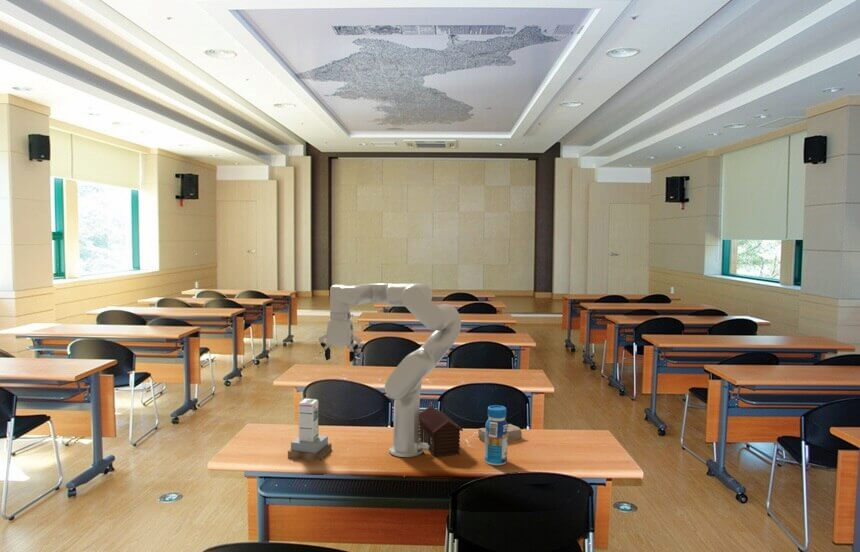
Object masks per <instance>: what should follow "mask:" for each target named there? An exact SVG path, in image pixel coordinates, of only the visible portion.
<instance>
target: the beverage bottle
mask: <svg viewBox="0 0 860 552" xmlns="http://www.w3.org/2000/svg"><path fill="white" fill-rule="evenodd" d="M487 417H488V419H487V420H486V422H485V425H484V426H485V427H484V428H486V430H485V442H484V461H485V462H486V464H488V465H491V466H503V465H505V464H506V463H507V462H508V442H509V441H508V431H507V429H508V424H509V423H508V422H507V418H506V417H507V407H505V406H504V405H499V404H498V405H497V404H494V405H489V406H488V407H487Z"/></svg>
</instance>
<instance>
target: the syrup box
mask: <svg viewBox="0 0 860 552" xmlns="http://www.w3.org/2000/svg"><path fill="white" fill-rule="evenodd" d="M319 435H320V434H319V400H318V399H317V398H303V399H302V400H301V401H299V403H298V437H299V441H306V442H314V440H315V439H316V438H317V437H318V436H319Z"/></svg>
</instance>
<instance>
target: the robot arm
mask: <svg viewBox="0 0 860 552" xmlns="http://www.w3.org/2000/svg"><path fill="white" fill-rule="evenodd" d="M329 292H330V293H329V297H330V299H329V311H330V313H329V319H328V322H327V327H326V334H324V335H322V336H320V337H318V341H319V343H320V346H321V347H322V349H323V350H324V358H325V361H329V360H331V346H332V347H334V346H335V347H348V349H349V350H350V351H349V353H348V355H349V357H348V358H349V359H348V361H349V363H352V362H353V361H355V358H356V350H357V349H358V348H359V347H360V346H361V344H362V339H361V338H359V337H358V336H355V333H354V332H355V331H354V324H353V320H352V319H353V318H354V314H353V313H351V306H360V305H364V304H371V303H372V304H375V303H376V304H379V303H380V304H387V305H388V306H390V307H405V308H406V309H407V310H408V311H409V312H410V313H411V314H412V315H413V316H414V317H415V318H416V319H417V320H418V321H420V322H421V324H422V325H423V326H424V327H426V328H427V329H428V330H430V331H434V332H432V333H431V335H430V336H428V338H427V339H426V341H425V342H424V343H423V344H422V345H421V346H420V347H419V348H417V349H416V350H414V351H412V352H410V353H409V354H407V355H406V356H405V357H404V358H403V359H402V360H401V362H399V364H397V366H396V367H395V368H394V370H393V371H392V372H391V373H390V375H389V376H388V377H387V378H386V380H385V383H384V391H385V394H386V395H387V397H388V398H390V399H392V400H394V402H393V438H392V439H393V442H392V443H393V444H392V445H391V446H390V447H389V449H388V451H389V454H391V455H393V456H395V457H399V458H413V457H417V456H420V455H422V454H423V451H429V449H430V445H428V443H422V442H421V439H420V438H419V414H420V399H421V390H422V385H423V383H422V379H423V378H424V377H425V376H427V375H428V374H430V373H432V371H433V370H434V369H436V366H437V365H438V364H439V363H440V362H441V360H442V359H443V358H444V356H445V355H446V354H447V353H448V352H449V350H450V349H451V348H452V346H453V345H454V344H455V342H457V339H458V338H459V335H460V332H461V329H462V319H461V315H460V313H459V311H458V310H457V308H455V306H454V305H452V304H446V303H442V304H439V305H437V304H436V303H434V301H433V300H432V298H433V290H432V288H431V287H430V286H429V285H428V284H425V283H415V282H414V283H411V282H410V283H363V284H356V285H347V284H333V285H331V286H330V291H329ZM324 340H325V341H326V342H325V341H324ZM355 342H356V343H355ZM354 344H355V345H354Z"/></svg>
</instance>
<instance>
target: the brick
mask: <svg viewBox="0 0 860 552" xmlns="http://www.w3.org/2000/svg"><path fill="white" fill-rule="evenodd" d="M507 424H508V429H507V431H508V442H511V441H516V440H521V439H522V437H523V435H522V433H523V432H522V429H521V428H520V427H519V426H516V425H513V424H512V423H507ZM485 430H486V427H481V428H478V432H477V434H478V438H479V440H481V441H482V442H484V443H485Z"/></svg>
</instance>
